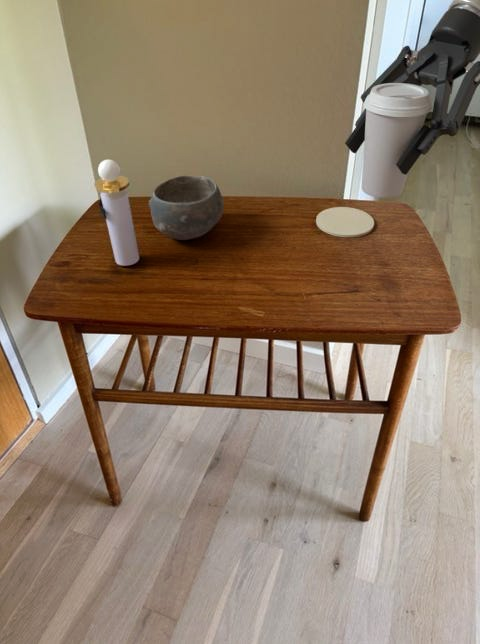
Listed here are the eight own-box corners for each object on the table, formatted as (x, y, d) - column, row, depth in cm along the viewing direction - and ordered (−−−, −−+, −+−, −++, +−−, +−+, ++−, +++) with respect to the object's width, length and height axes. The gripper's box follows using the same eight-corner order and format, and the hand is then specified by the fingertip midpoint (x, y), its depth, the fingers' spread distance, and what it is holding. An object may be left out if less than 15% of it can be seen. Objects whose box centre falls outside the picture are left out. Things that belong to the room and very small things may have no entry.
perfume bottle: (141, 252, 95) (123, 151, 82) (144, 268, 91) (126, 164, 77) (112, 256, 94) (88, 155, 81) (113, 272, 90) (89, 169, 76)
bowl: (234, 221, 103) (233, 177, 97) (204, 259, 92) (200, 212, 86) (176, 211, 107) (171, 167, 101) (141, 246, 96) (132, 200, 90)
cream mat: (385, 222, 102) (385, 220, 101) (350, 244, 95) (350, 241, 95) (339, 204, 108) (339, 201, 108) (304, 223, 102) (304, 220, 102)
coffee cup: (348, 198, 76) (362, 98, 66) (355, 174, 83) (369, 79, 73) (411, 206, 74) (435, 103, 64) (413, 180, 81) (435, 83, 71)
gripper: (546, 56, 66) (442, 196, 69) (414, 31, 79) (334, 149, 83) (539, 15, 60) (426, 170, 63) (399, -4, 74) (313, 124, 77)
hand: (374, 158), depth 73 cm, fingers closed on coffee cup, 9 cm apart
